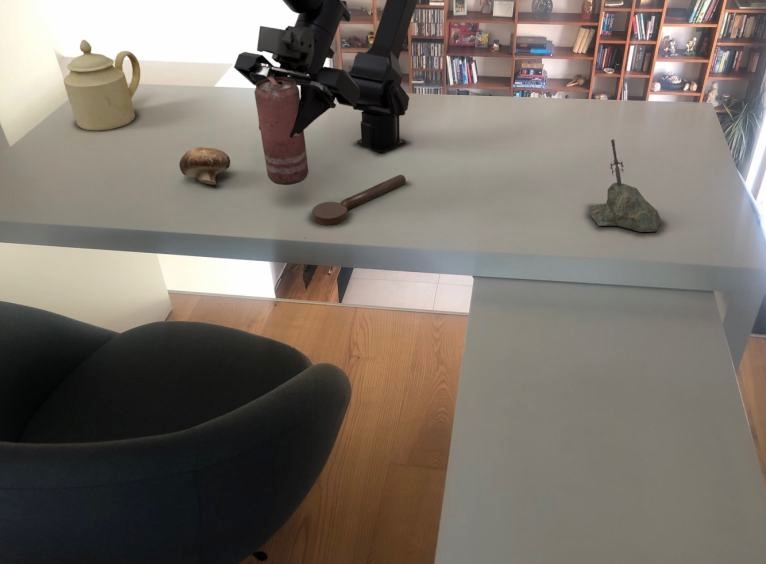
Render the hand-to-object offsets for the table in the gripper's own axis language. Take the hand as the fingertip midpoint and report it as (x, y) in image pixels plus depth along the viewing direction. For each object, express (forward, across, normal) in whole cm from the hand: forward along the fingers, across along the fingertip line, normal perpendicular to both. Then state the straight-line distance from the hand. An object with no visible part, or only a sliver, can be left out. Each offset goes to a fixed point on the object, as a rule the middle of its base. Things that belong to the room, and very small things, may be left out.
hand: (276, 134), depth 99 cm
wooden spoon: (+4, +9, +13) cm, 16 cm away
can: (+4, 0, +6) cm, 7 cm away
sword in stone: (-7, +46, +24) cm, 53 cm away
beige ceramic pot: (-1, -54, +18) cm, 57 cm away
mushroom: (+8, -17, +9) cm, 21 cm away
